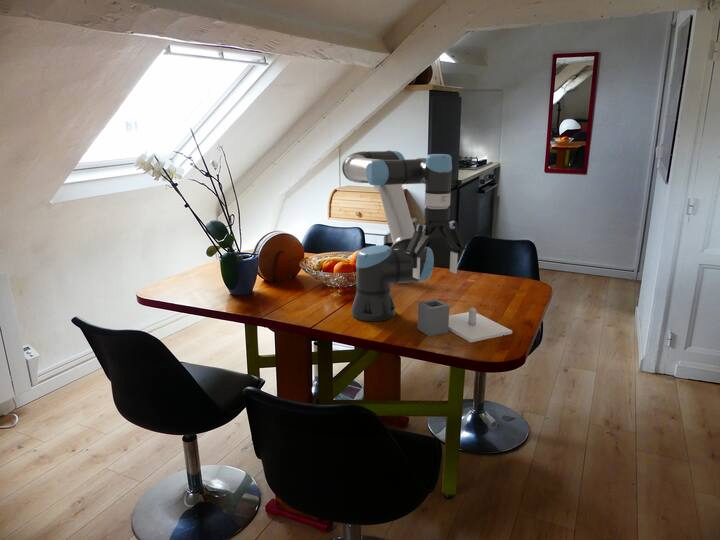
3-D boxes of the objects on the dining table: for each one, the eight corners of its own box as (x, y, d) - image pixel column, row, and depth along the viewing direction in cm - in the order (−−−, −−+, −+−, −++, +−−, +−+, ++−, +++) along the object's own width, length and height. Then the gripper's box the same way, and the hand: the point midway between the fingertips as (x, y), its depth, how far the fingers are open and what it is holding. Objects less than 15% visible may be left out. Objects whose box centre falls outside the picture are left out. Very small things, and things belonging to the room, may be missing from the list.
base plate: (470, 342, 165) (471, 321, 164) (433, 321, 183) (434, 302, 181) (512, 333, 172) (513, 313, 170) (473, 313, 190) (474, 295, 188)
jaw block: (429, 336, 170) (430, 309, 168) (417, 328, 176) (418, 302, 174) (448, 332, 173) (449, 305, 171) (435, 325, 179) (436, 299, 177)
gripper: (407, 211, 156) (406, 283, 161) (478, 205, 166) (475, 273, 172) (394, 208, 162) (393, 277, 168) (464, 202, 173) (460, 267, 178)
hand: (434, 275), depth 170 cm, fingers open, 13 cm apart
